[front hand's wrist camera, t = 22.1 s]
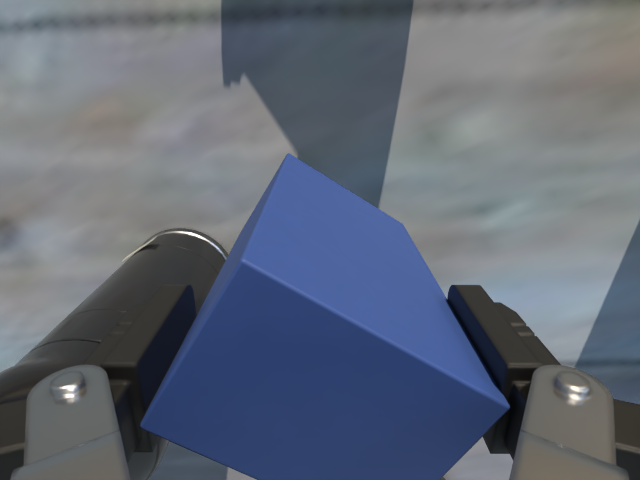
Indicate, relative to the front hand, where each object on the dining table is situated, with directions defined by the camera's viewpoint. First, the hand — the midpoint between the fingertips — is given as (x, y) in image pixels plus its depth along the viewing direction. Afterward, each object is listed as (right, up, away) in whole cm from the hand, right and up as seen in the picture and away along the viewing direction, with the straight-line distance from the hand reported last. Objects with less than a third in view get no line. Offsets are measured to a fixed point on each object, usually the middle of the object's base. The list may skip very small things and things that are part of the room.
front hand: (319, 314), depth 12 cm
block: (0, +3, +6) cm, 7 cm away
